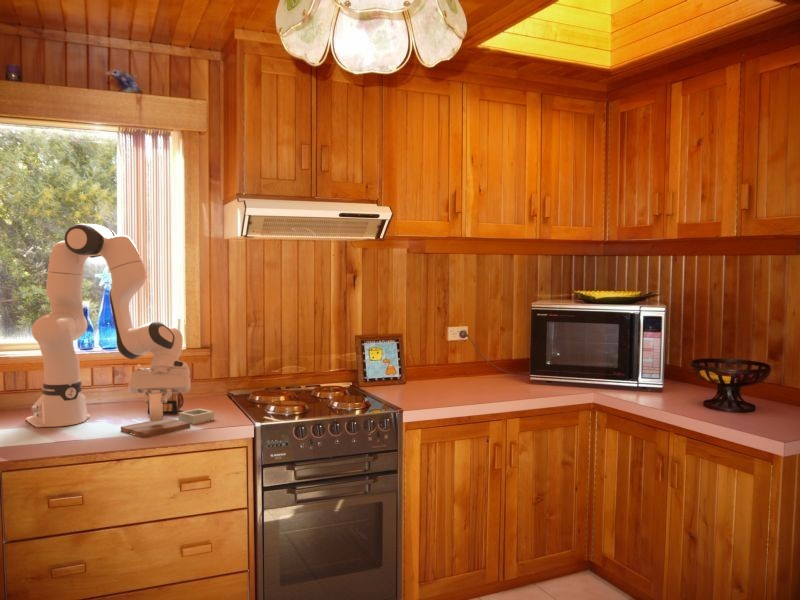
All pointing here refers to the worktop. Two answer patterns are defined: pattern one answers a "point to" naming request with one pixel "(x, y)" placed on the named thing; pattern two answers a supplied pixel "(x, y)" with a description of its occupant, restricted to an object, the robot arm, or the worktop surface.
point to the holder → (196, 416)
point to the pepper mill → (155, 405)
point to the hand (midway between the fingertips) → (155, 402)
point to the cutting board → (155, 427)
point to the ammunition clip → (169, 405)
